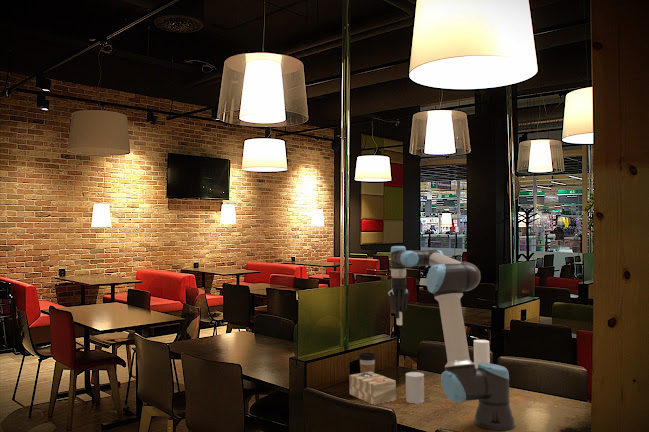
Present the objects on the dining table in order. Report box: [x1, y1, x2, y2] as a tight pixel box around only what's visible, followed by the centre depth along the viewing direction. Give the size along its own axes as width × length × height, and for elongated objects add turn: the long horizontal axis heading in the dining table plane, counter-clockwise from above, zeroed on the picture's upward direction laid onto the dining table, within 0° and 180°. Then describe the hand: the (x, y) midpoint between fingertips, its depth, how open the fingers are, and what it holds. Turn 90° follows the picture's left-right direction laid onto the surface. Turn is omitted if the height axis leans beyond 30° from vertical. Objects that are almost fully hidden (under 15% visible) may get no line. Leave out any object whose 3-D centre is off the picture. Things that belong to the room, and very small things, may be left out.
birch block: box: [348, 372, 397, 406], centre depth 256 cm, size 20×12×9 cm, turn 31°
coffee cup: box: [358, 352, 376, 373], centre depth 280 cm, size 8×8×15 cm
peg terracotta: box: [374, 378, 383, 382], centre depth 252 cm, size 4×4×9 cm
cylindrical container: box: [473, 339, 491, 369], centre depth 258 cm, size 7×7×25 cm
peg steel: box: [361, 373, 371, 377], centre depth 260 cm, size 4×4×9 cm
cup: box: [405, 371, 425, 405], centre depth 250 cm, size 8×8×12 cm
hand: (399, 324), depth 274 cm, fingers closed
